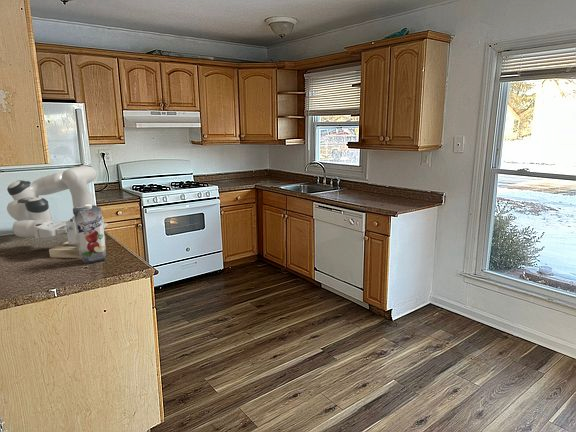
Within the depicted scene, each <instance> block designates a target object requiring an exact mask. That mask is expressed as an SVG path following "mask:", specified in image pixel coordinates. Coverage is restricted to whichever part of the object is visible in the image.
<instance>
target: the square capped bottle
mask: <svg viewBox="0 0 576 432" xmlns="http://www.w3.org/2000/svg"><path fill="white" fill-rule="evenodd" d="M65 221H66V222H65V223H66V229H68V232H67V233H66V235H67V236H66V237H67V241H68V245H76V242H77V241H78V240H77V232H76V224H75V219H74V218H70V219H69V220H65Z"/></svg>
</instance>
